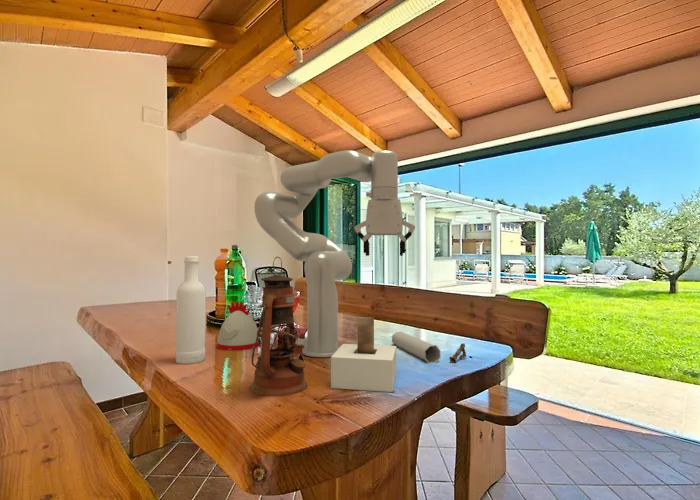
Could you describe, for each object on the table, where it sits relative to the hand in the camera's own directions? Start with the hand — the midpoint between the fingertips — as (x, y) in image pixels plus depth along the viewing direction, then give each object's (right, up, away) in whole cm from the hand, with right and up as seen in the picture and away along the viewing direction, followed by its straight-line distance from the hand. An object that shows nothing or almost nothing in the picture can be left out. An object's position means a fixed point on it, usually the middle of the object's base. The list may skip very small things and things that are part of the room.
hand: (384, 255), depth 110 cm
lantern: (-26, -30, -20) cm, 45 cm away
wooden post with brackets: (+22, -31, +3) cm, 38 cm away
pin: (-6, -27, -16) cm, 32 cm away
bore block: (-6, -30, -16) cm, 34 cm away
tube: (+10, -31, +12) cm, 35 cm away
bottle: (-56, -30, +2) cm, 63 cm away
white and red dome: (-47, -31, +20) cm, 60 cm away
